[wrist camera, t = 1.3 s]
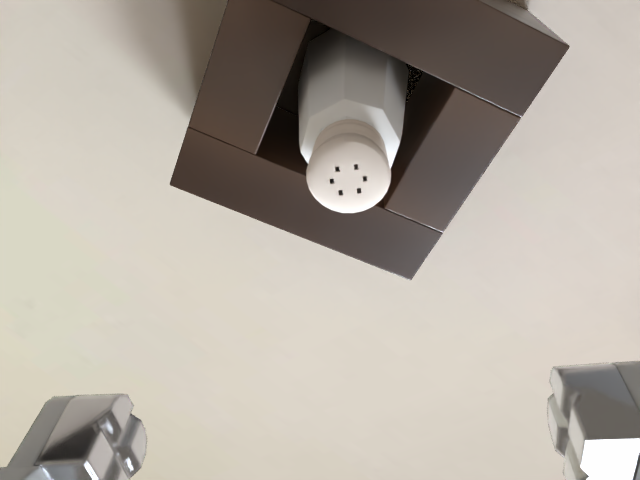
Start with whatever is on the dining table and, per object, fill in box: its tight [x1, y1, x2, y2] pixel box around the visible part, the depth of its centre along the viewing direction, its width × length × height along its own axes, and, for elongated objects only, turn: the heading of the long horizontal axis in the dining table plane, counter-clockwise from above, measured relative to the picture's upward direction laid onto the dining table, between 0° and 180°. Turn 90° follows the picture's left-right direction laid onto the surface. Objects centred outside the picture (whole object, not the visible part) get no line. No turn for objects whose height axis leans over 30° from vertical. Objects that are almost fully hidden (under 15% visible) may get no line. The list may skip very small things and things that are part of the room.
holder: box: [170, 0, 570, 280], centre depth 25 cm, size 12×12×6 cm
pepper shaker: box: [298, 28, 409, 213], centre depth 23 cm, size 5×5×11 cm
